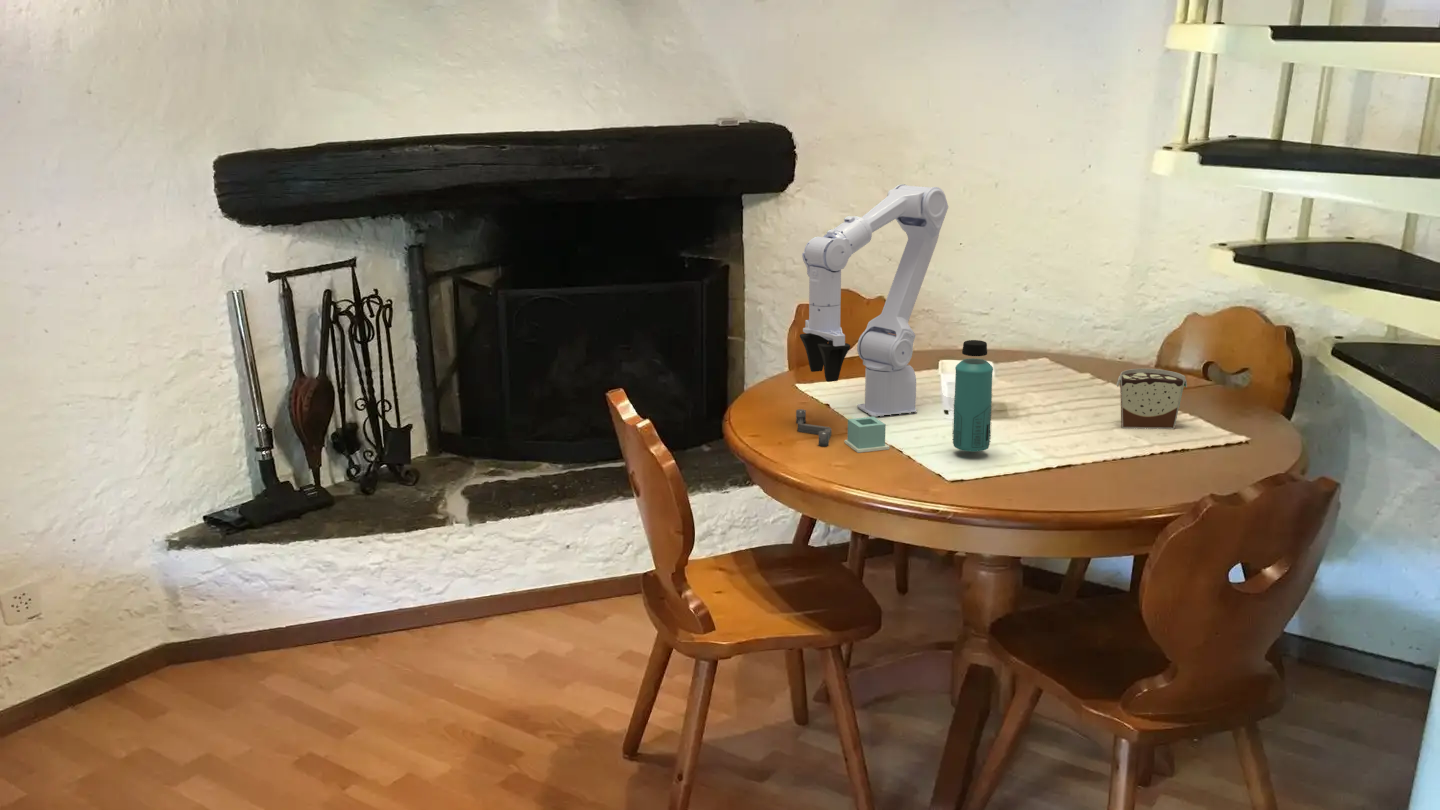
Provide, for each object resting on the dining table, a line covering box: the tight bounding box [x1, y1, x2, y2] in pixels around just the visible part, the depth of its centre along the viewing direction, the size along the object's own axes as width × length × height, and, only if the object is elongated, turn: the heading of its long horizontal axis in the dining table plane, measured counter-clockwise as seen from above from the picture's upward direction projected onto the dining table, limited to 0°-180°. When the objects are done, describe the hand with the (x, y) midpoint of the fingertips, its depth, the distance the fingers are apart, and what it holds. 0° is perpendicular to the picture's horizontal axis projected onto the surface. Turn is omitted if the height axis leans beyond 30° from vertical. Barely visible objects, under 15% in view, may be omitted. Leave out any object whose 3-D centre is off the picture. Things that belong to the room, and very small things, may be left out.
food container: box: [1116, 368, 1188, 430], centre depth 206 cm, size 12×6×10 cm, turn 84°
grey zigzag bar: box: [795, 408, 832, 448], centre depth 205 cm, size 5×16×2 cm, turn 17°
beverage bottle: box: [951, 339, 994, 452], centre depth 190 cm, size 6×7×20 cm
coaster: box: [843, 439, 890, 454], centre depth 197 cm, size 6×6×1 cm
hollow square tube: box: [846, 416, 886, 449], centre depth 197 cm, size 5×5×4 cm
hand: (824, 376), depth 206 cm, fingers open, 7 cm apart
